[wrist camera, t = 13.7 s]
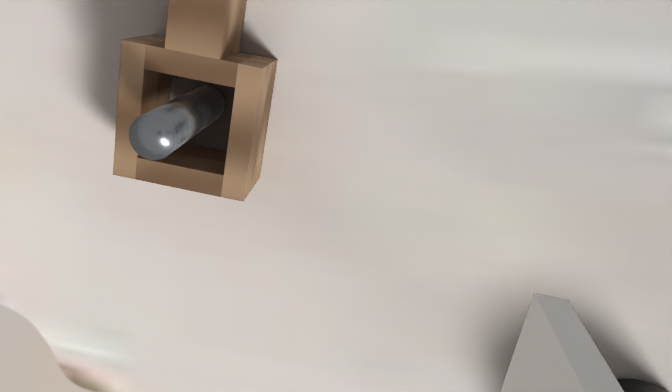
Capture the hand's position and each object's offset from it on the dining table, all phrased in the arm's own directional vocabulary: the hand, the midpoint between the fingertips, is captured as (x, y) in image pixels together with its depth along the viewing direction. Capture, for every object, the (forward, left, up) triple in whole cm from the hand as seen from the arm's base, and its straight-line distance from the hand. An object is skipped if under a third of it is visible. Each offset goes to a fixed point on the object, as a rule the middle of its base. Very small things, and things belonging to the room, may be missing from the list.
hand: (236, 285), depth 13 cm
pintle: (+6, -6, -27) cm, 28 cm away
